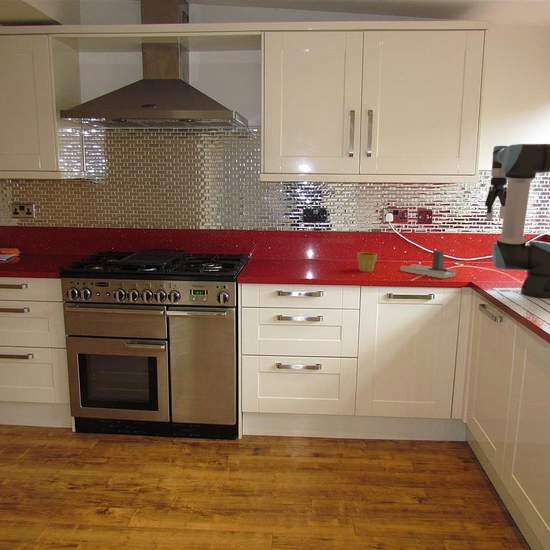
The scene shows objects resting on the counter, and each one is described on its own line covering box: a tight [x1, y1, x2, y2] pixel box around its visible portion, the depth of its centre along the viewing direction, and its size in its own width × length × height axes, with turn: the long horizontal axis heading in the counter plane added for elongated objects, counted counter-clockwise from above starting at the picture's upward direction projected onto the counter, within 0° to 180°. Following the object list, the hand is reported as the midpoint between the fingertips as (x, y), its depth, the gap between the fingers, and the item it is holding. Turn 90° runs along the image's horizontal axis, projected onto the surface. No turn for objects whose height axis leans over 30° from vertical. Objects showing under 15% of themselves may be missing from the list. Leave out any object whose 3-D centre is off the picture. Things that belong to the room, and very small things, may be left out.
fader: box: [428, 249, 447, 272], centre depth 260 cm, size 6×7×10 cm
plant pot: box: [356, 251, 378, 273], centre depth 270 cm, size 10×10×10 cm
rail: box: [399, 263, 456, 279], centre depth 265 cm, size 26×10×3 cm, turn 40°
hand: (495, 219), depth 262 cm, fingers open, 13 cm apart
